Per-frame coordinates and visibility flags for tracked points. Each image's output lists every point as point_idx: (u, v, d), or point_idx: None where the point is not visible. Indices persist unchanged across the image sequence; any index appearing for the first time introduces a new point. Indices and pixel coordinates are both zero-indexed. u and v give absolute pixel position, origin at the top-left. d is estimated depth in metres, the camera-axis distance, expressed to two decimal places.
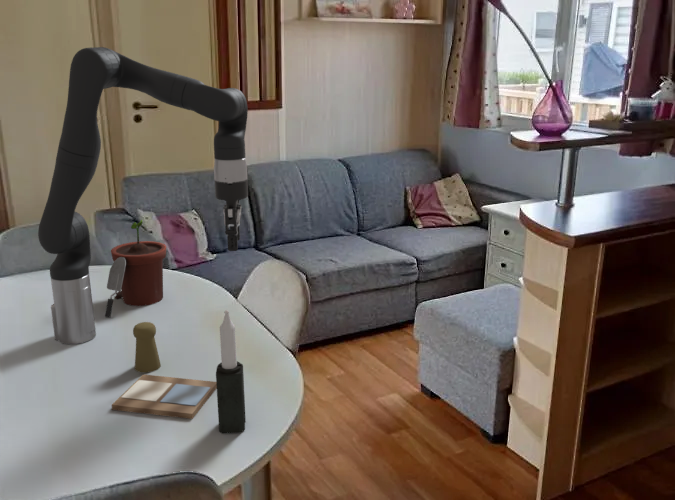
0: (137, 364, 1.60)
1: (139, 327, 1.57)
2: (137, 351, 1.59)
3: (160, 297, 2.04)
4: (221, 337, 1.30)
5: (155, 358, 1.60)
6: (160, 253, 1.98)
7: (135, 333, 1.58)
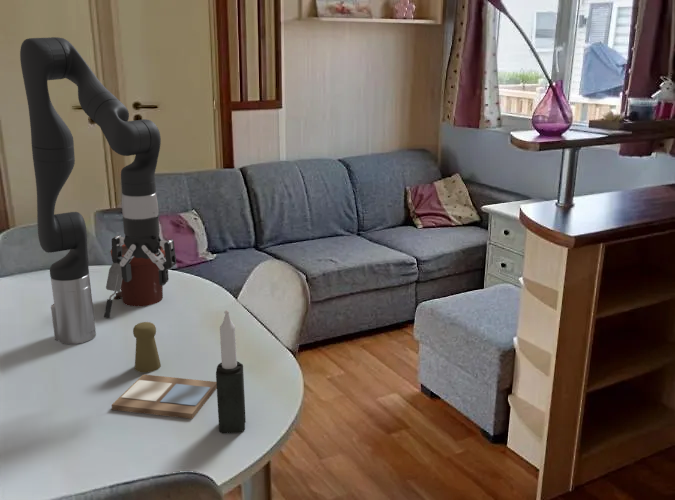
0: (137, 364, 1.60)
1: (139, 327, 1.57)
2: (137, 351, 1.59)
3: (160, 298, 2.03)
4: (221, 337, 1.30)
5: (155, 358, 1.60)
6: None
7: (135, 333, 1.58)
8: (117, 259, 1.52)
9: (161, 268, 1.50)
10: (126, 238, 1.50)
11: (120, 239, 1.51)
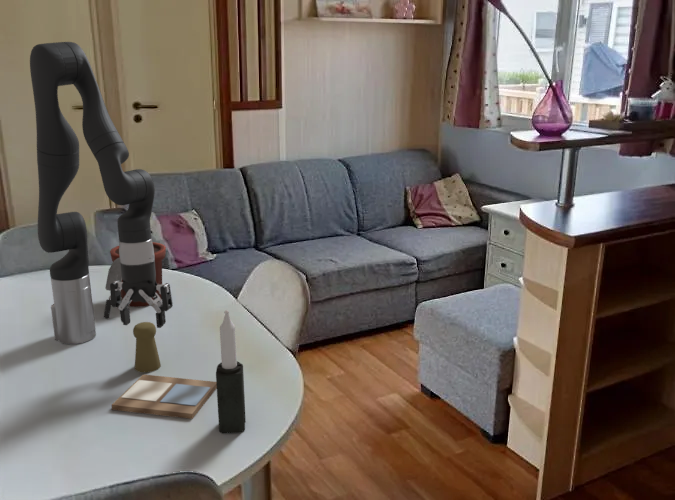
0: (137, 364, 1.60)
1: (139, 327, 1.57)
2: (137, 351, 1.59)
3: None
4: (221, 337, 1.30)
5: (155, 358, 1.60)
6: (159, 254, 1.97)
7: (135, 333, 1.58)
8: (116, 303, 1.58)
9: (158, 311, 1.55)
10: (124, 283, 1.55)
11: (118, 284, 1.57)
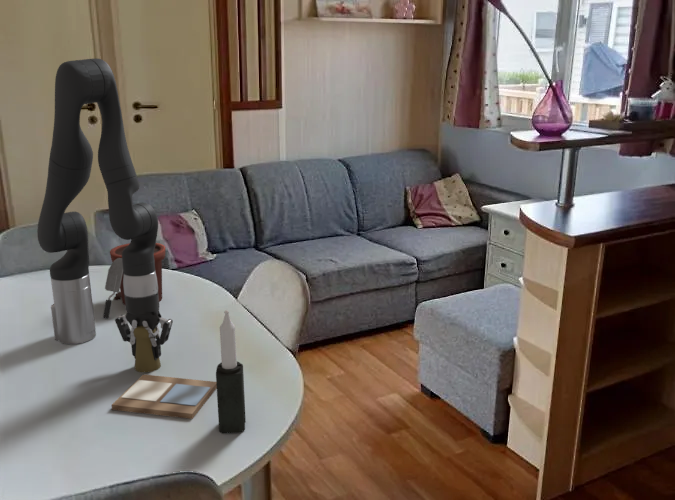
0: (137, 364, 1.60)
1: (139, 327, 1.57)
2: (137, 351, 1.59)
3: (159, 298, 2.03)
4: (221, 337, 1.30)
5: None
6: (159, 254, 1.97)
7: (135, 333, 1.58)
8: (127, 337, 1.60)
9: (154, 344, 1.59)
10: (126, 314, 1.58)
11: (122, 317, 1.59)
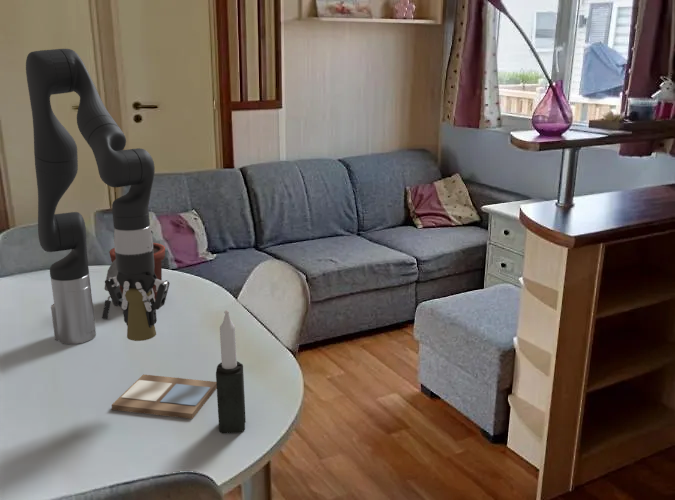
0: (129, 331, 1.42)
1: (132, 290, 1.40)
2: (129, 317, 1.42)
3: None
4: (221, 337, 1.30)
5: None
6: (158, 254, 1.97)
7: (127, 296, 1.40)
8: (119, 302, 1.42)
9: (148, 309, 1.41)
10: (118, 275, 1.40)
11: (113, 279, 1.42)
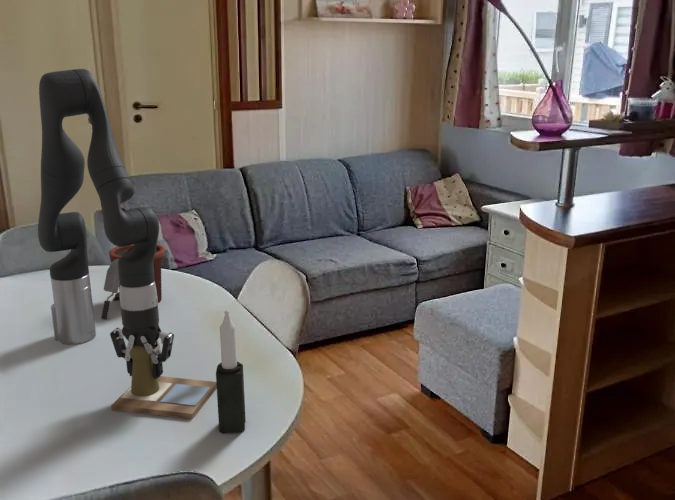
0: (134, 387, 1.46)
1: (136, 347, 1.44)
2: (134, 373, 1.45)
3: (158, 299, 2.02)
4: (221, 337, 1.30)
5: (153, 380, 1.47)
6: (158, 255, 1.96)
7: (131, 353, 1.44)
8: (122, 353, 1.46)
9: (155, 362, 1.44)
10: (123, 328, 1.44)
11: (118, 331, 1.45)
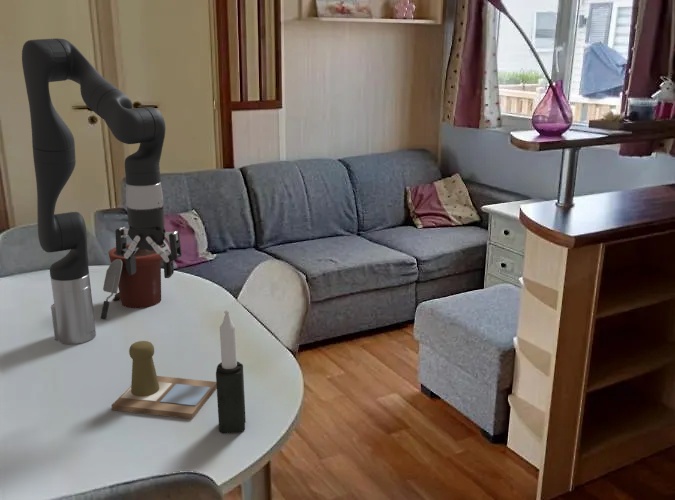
0: (134, 387, 1.46)
1: (136, 347, 1.44)
2: (134, 373, 1.45)
3: (158, 300, 2.02)
4: (221, 337, 1.30)
5: (153, 380, 1.47)
6: (157, 255, 1.96)
7: (131, 353, 1.44)
8: (121, 251, 1.48)
9: (166, 260, 1.46)
10: (130, 229, 1.46)
11: (124, 230, 1.47)
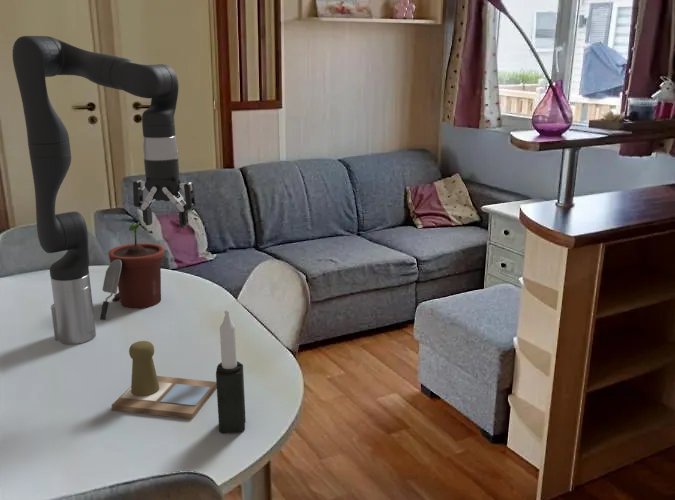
0: (134, 387, 1.46)
1: (136, 347, 1.44)
2: (134, 373, 1.45)
3: (157, 300, 2.02)
4: (221, 337, 1.30)
5: (153, 380, 1.47)
6: (157, 256, 1.96)
7: (131, 353, 1.44)
8: (138, 203, 1.57)
9: (181, 210, 1.55)
10: (147, 181, 1.55)
11: (141, 183, 1.56)
